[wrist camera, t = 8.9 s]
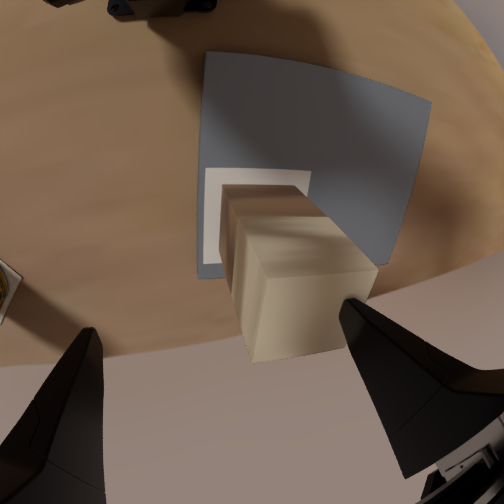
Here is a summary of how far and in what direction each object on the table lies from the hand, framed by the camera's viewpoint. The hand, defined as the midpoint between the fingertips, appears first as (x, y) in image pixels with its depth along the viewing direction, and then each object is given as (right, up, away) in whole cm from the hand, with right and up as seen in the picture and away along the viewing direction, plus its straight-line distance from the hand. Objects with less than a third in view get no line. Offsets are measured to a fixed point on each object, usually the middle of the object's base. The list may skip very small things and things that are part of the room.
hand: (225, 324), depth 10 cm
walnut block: (+1, +5, +11) cm, 12 cm away
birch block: (+2, +2, +7) cm, 7 cm away
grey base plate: (+6, +8, +11) cm, 15 cm away
